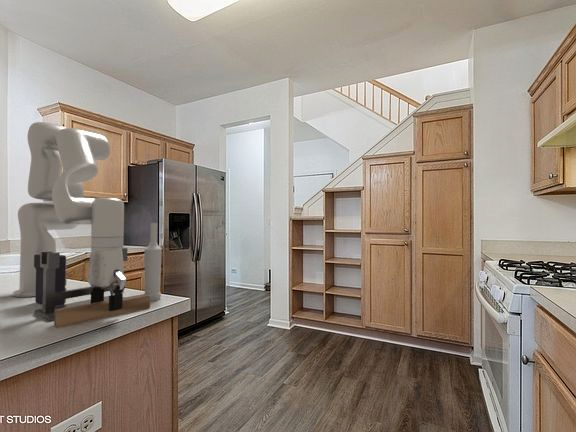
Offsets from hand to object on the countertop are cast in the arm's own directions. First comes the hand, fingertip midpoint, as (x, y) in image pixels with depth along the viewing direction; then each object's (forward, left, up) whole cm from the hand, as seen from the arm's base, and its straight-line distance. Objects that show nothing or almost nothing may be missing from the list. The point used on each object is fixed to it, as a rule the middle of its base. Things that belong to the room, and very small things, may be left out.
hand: (106, 306), depth 80 cm
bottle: (-6, +17, -2) cm, 18 cm away
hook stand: (-12, 0, -2) cm, 12 cm away
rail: (0, 0, -3) cm, 3 cm away
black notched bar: (-26, -4, -2) cm, 26 cm away
